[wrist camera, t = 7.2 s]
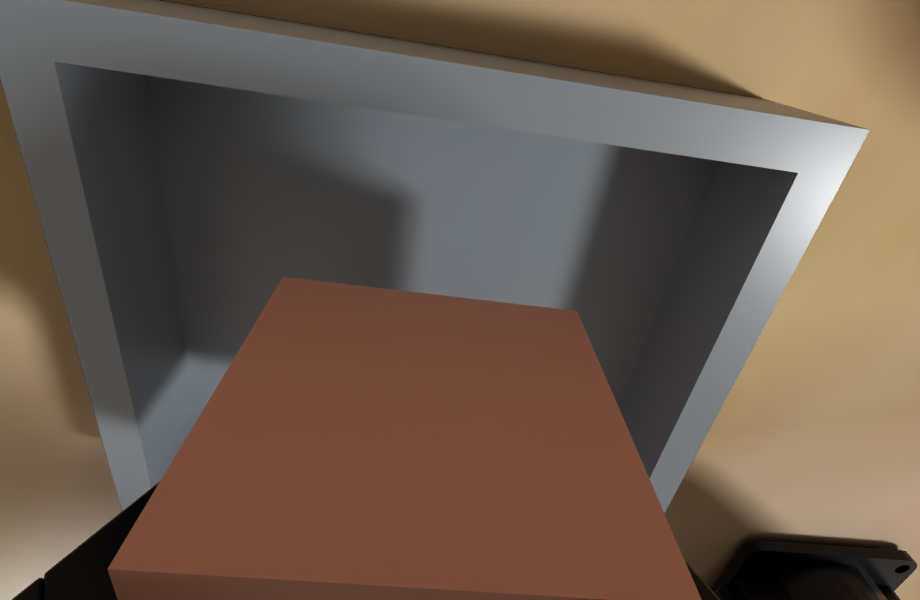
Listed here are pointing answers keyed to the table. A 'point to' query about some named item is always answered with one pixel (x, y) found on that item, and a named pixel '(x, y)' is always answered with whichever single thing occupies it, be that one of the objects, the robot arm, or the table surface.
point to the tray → (395, 203)
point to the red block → (405, 463)
